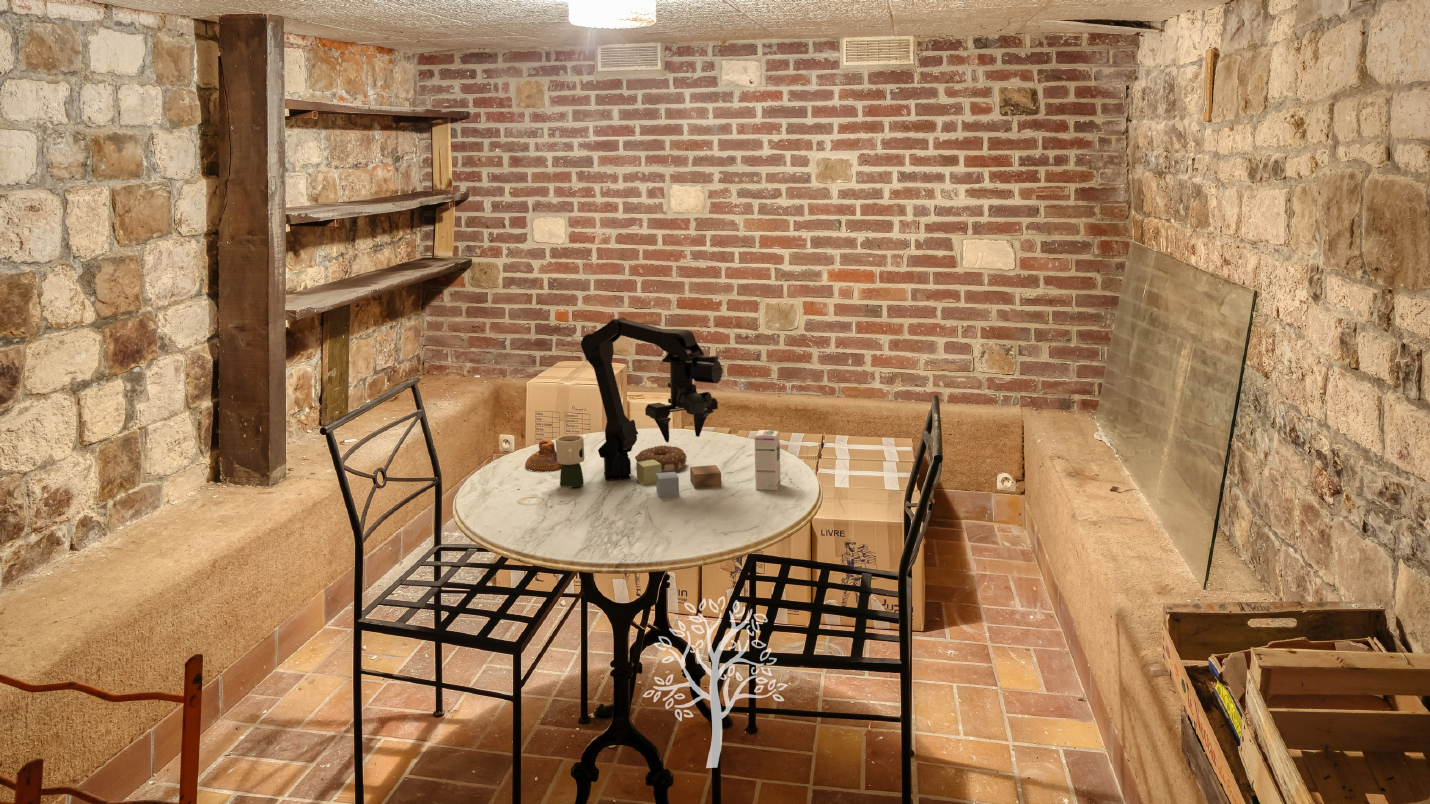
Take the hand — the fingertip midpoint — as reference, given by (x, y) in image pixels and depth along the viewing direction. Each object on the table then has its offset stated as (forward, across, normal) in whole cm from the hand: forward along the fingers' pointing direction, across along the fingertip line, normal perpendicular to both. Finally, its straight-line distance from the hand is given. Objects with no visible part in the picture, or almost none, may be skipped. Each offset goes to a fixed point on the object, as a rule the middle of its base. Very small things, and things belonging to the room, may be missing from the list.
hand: (682, 439), depth 259 cm
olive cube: (+13, -5, +9) cm, 16 cm away
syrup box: (+13, +17, -14) cm, 25 cm away
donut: (+13, +4, +18) cm, 23 cm away
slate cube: (+13, -7, -3) cm, 15 cm away
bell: (+13, -21, +38) cm, 46 cm away
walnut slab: (+13, +6, -2) cm, 14 cm away
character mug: (+13, -24, +17) cm, 32 cm away
